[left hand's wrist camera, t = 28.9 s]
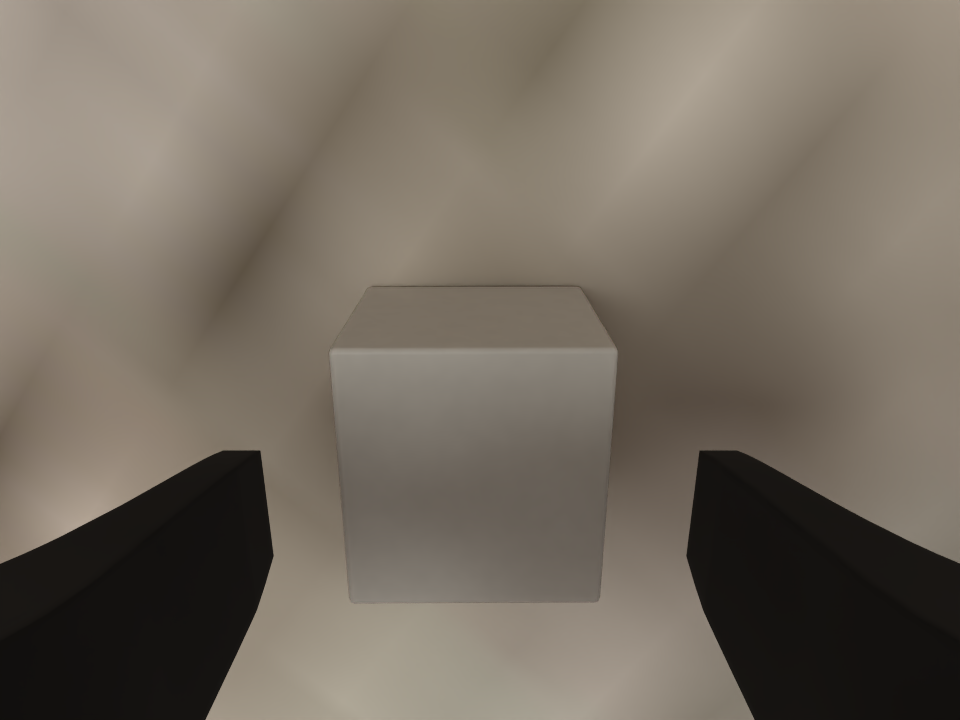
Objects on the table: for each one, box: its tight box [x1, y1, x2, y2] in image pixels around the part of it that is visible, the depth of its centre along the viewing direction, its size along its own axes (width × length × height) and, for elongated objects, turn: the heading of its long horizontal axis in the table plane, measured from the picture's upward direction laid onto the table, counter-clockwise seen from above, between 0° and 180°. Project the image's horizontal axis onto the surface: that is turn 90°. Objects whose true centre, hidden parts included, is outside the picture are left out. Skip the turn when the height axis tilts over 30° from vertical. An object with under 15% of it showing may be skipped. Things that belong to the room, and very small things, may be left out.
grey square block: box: [329, 287, 618, 603], centre depth 13 cm, size 5×5×4 cm
